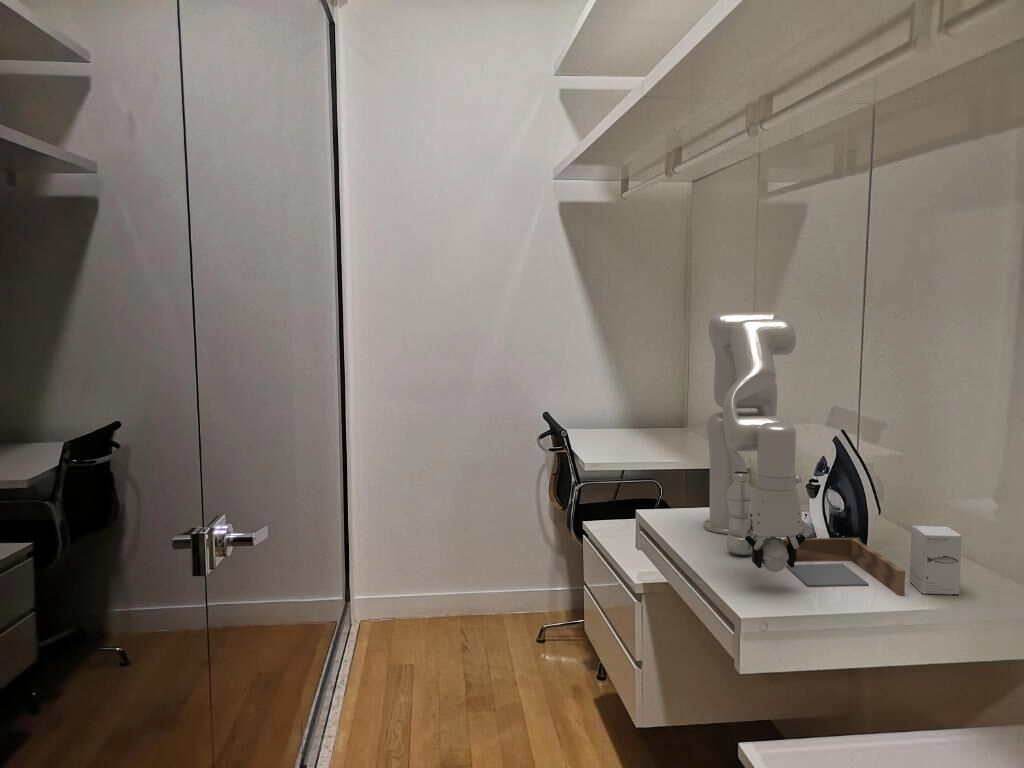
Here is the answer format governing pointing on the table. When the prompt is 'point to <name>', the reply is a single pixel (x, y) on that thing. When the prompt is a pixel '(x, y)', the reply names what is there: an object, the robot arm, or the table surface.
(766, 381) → the robot arm
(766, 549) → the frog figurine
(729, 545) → the plastic bottle
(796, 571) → the slate mat
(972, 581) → the table surface
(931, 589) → the supplement box
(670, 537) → the table surface
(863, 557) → the corner walls
